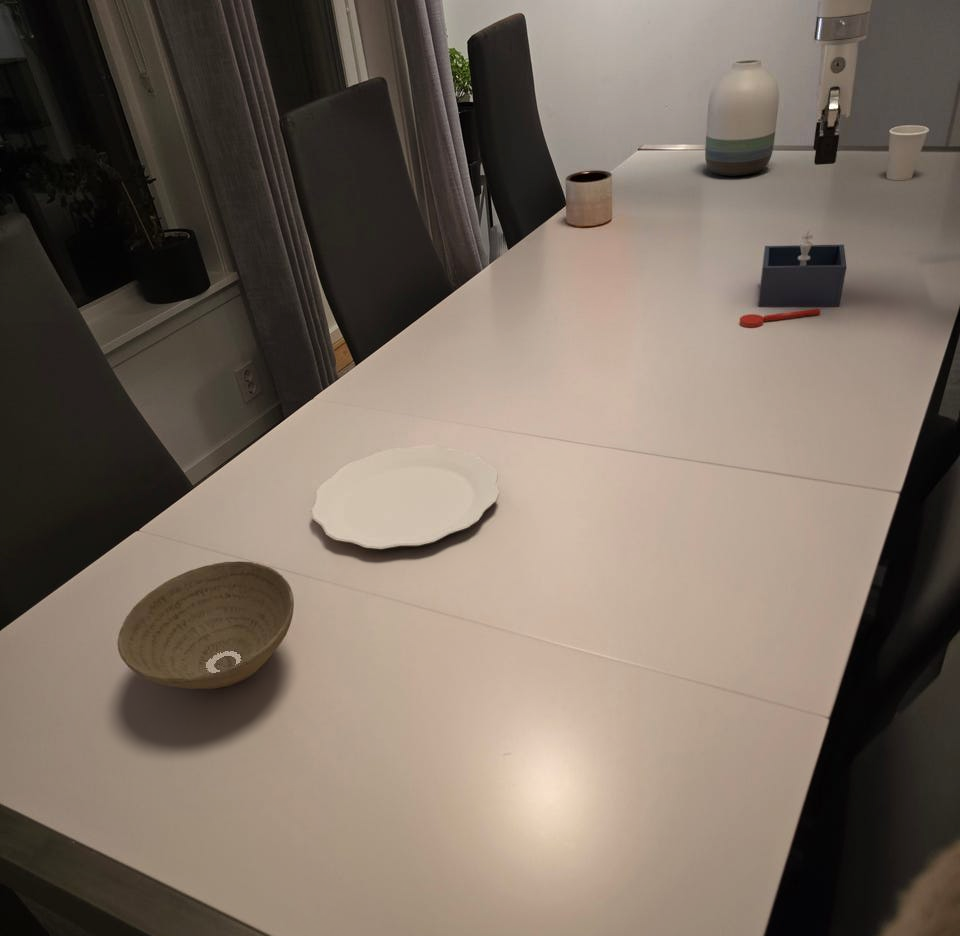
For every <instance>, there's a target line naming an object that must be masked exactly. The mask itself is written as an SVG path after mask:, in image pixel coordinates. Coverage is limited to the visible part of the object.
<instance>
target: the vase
mask: <svg viewBox="0 0 960 936" xmlns="http://www.w3.org/2000/svg"><path fill="white" fill-rule="evenodd" d="M709 95H710V96H709V99H708V104H707V117H706V132H705V147H704V148H705V149H704V150H705V151H704V157H705V162H706V163H705V164H706V166H707V168H708V169H709V171H711V172H712V173H714V174H716V175H720V176H727V177H737V176H747V175H750V174H755V173H758V172H760V171H762V170H763V169H764V168H766V167H767V165H768V164H769V163H770V160H771V158H772V155H773V153H774V152H773V151H774V146H775V137H776V132H777V131H776V130H777V122H778V121H777V120H778V113H779V102H780V91H779V86H778V83H777V80H776V79H775V78H774V77H773V76H772V75H771V74H770V73H769V72H768V71H767V70H766V69H764V68H763V66H762V60H761V59H759V58H745V59H744V58H743V59H739V60H735V61H733V64H732V67H731V68H730V70H729V71H728V72H727V73H726V74H724V76H722V77H721V78H720V79H719V80H718V81H717V82H716V83H715V85H714V86H713V88H712V90H711V92H710V94H709Z"/></svg>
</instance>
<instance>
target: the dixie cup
mask: <svg viewBox="0 0 960 936" xmlns="http://www.w3.org/2000/svg"><path fill="white" fill-rule="evenodd" d="M929 131H930V129H929V128H928V127H927V126H925V125H915V124H914V125H913V124H911V125H900V126H895V127H892V128H890V130H889V131H888V132H889V141H888V155H887V164H886V165H887V166H886V176H885V177H886V179H887V180H889V181H908V180H911V179H912V178H913V177H914V176H913V175H914V173H915V170H916V167H917V164H918V161H919V158H920V155H921V153H922V152H921V151H922V149H923V146H924V143H925V141H926V137H927V135H928V133H929Z"/></svg>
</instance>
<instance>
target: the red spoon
mask: <svg viewBox="0 0 960 936" xmlns="http://www.w3.org/2000/svg"><path fill="white" fill-rule="evenodd" d="M820 314H821V309H820V308H811V309H804V310H796V311H789V312H782V313H773V314H766V315H764V316H762V315H760V314H756V313H755V314H754V313H751V314H745V315H742V316H741V317H740V318H739V325H740V326H741V327H743V328H749V329H750V328H758V327H759V328H760V327H761V326H763V325H764V322H775V321H780V320H781V321H782V320H788V319H795V318H796V319H797V318H803V317H810V316H818V315H820Z"/></svg>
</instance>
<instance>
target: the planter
mask: <svg viewBox="0 0 960 936" xmlns="http://www.w3.org/2000/svg"><path fill="white" fill-rule="evenodd" d="M565 218H566V219H565V220H566V222H567V223H568V225H571V226H573V227H577V228H592V227H598V226H601V225H604V224H607V223H608V222H610V221H611V219H612V218H613V174H612V173H611V172H609V171H608V170H607V171H606V170H597V169H594V170H584V171H583V170H582V171H578V172H575V173H571V174H569V175H568V176H567V175H566V177H565Z"/></svg>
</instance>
